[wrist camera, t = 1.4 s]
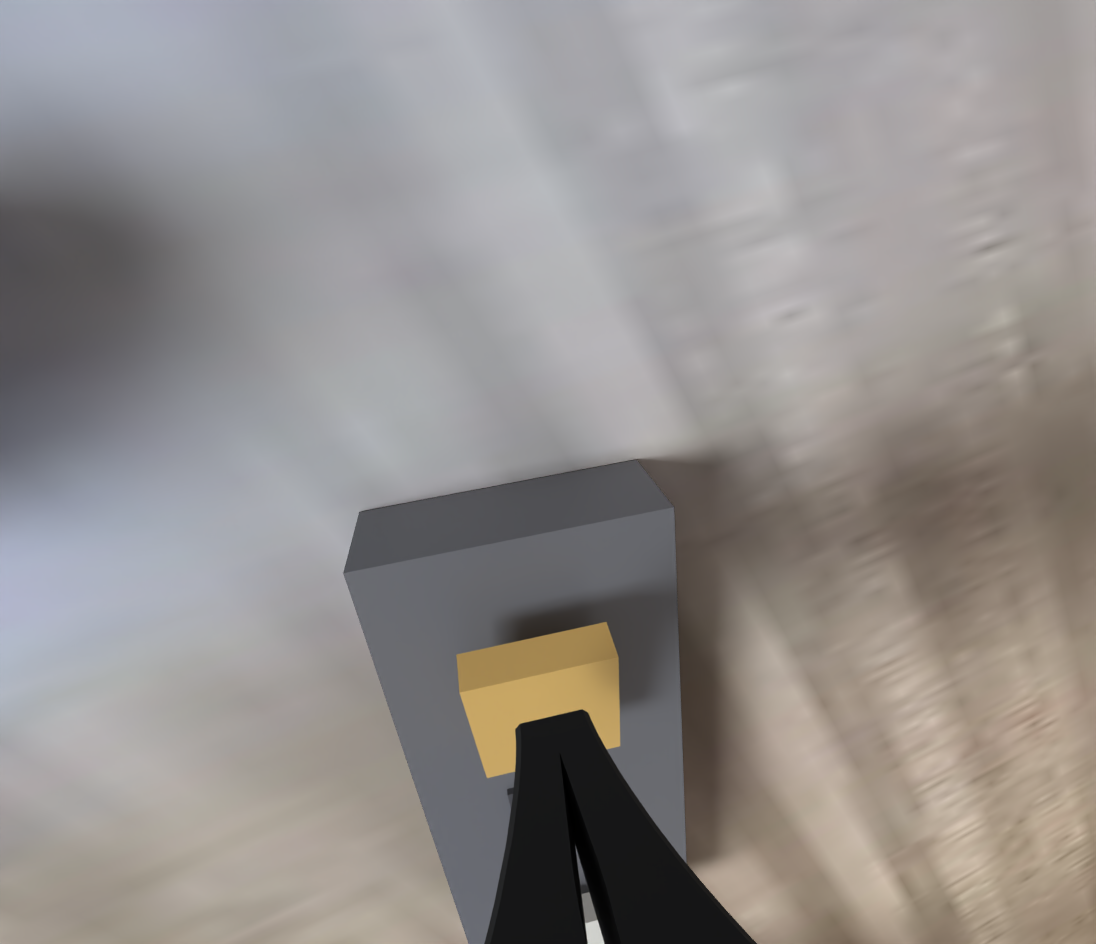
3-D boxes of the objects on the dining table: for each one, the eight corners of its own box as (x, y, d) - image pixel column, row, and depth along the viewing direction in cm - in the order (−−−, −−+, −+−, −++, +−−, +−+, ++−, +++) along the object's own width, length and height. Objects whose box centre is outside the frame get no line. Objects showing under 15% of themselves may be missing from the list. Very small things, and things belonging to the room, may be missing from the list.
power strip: (665, 907, 27) (692, 991, 24) (495, 954, 26) (501, 1047, 23) (636, 459, 17) (677, 510, 14) (359, 511, 16) (342, 578, 13)
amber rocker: (609, 711, 16) (620, 745, 15) (483, 741, 16) (486, 778, 15) (606, 621, 14) (618, 657, 13) (456, 654, 13) (459, 693, 13)
